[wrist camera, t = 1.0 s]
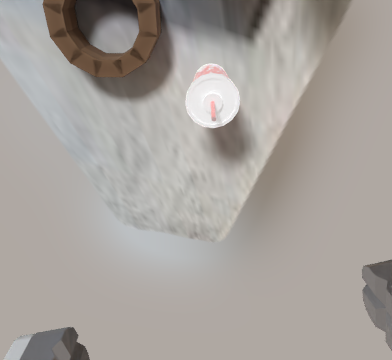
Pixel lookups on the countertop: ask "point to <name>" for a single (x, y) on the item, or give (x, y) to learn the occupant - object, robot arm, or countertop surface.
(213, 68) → the beverage cup
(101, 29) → the countertop surface
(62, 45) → the walnut ring
